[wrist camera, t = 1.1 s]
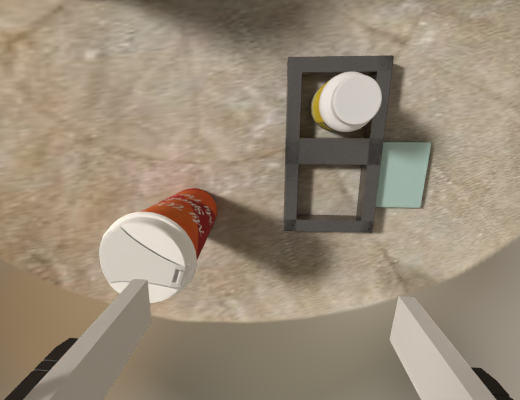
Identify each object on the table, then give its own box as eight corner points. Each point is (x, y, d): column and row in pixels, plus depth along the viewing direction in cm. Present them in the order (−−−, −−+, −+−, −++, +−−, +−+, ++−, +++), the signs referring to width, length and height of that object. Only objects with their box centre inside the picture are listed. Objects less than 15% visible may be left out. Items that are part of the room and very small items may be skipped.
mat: (380, 142, 32) (383, 142, 31) (427, 142, 32) (431, 142, 31) (373, 205, 34) (375, 206, 34) (417, 205, 34) (420, 207, 33)
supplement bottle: (307, 129, 32) (321, 131, 23) (312, 81, 31) (328, 62, 21) (352, 132, 32) (384, 134, 23) (359, 83, 31) (396, 64, 21)
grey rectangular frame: (287, 61, 30) (288, 57, 28) (386, 60, 30) (393, 55, 28) (283, 224, 36) (284, 230, 34) (366, 226, 35) (372, 232, 33)
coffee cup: (233, 191, 35) (203, 237, 20) (215, 245, 37) (177, 320, 23) (172, 170, 35) (99, 202, 20) (158, 225, 37) (83, 290, 22)
